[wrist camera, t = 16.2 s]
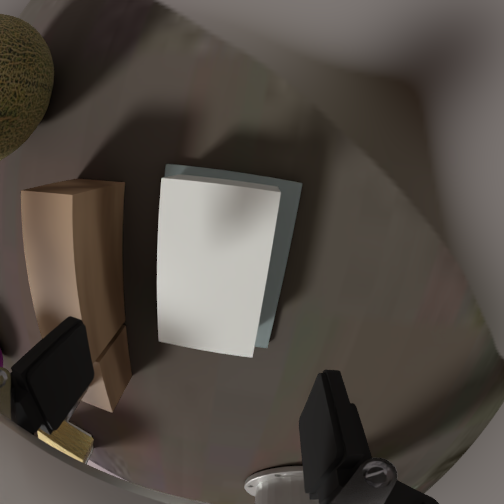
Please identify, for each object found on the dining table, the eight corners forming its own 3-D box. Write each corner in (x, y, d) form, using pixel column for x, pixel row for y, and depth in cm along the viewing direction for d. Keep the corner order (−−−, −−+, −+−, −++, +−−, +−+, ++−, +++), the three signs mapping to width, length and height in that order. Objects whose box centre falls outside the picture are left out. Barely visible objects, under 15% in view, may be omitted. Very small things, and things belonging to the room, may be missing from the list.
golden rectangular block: (25, 334, 16) (-20, 379, 10) (115, 397, 17) (83, 460, 11) (26, 350, 16) (-15, 393, 10) (112, 409, 17) (82, 467, 11)
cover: (277, 186, 16) (280, 192, 13) (254, 329, 20) (252, 357, 16) (179, 174, 16) (161, 178, 13) (172, 315, 19) (158, 341, 16)
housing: (124, 182, 17) (72, 195, 11) (132, 375, 23) (108, 421, 17) (76, 178, 17) (21, 190, 11) (93, 363, 23) (65, 402, 17)
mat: (301, 182, 17) (302, 183, 16) (267, 343, 21) (267, 348, 20) (169, 163, 17) (165, 164, 16) (160, 324, 20) (157, 328, 20)
